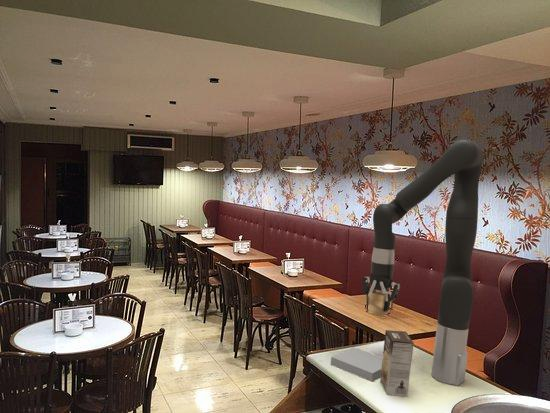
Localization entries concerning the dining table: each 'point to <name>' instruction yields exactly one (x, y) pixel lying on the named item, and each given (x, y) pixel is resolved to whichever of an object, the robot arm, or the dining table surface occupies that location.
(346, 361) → the slate base
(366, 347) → the dining table surface
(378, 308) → the oak block
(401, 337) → the coffee box
